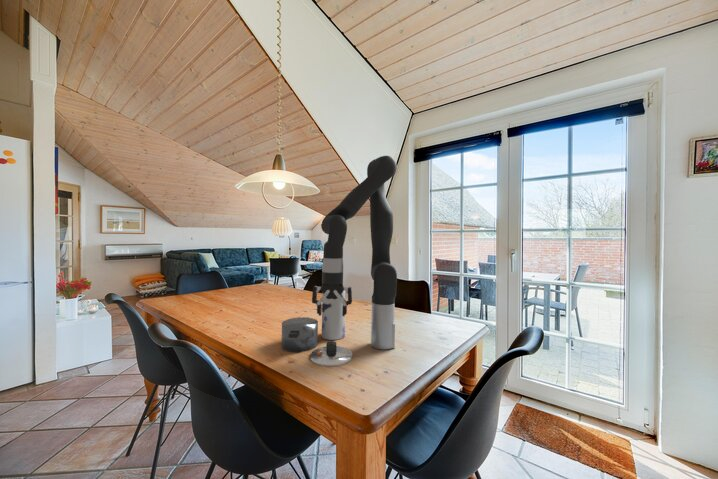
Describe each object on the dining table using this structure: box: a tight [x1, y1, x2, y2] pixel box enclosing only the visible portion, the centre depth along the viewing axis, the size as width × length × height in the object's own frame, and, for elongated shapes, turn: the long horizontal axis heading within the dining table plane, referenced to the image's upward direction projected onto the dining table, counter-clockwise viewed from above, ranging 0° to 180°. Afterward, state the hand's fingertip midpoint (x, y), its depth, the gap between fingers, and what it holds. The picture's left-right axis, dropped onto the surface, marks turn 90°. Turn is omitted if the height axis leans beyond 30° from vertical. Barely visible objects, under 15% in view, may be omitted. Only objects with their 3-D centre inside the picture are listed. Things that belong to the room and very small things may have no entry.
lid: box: [309, 340, 353, 367], centre depth 101 cm, size 15×15×5 cm
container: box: [321, 291, 346, 341], centre depth 122 cm, size 10×10×20 cm
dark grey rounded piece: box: [281, 316, 319, 353], centre depth 111 cm, size 21×14×9 cm, turn 178°
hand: (331, 315), depth 101 cm, fingers open, 8 cm apart
